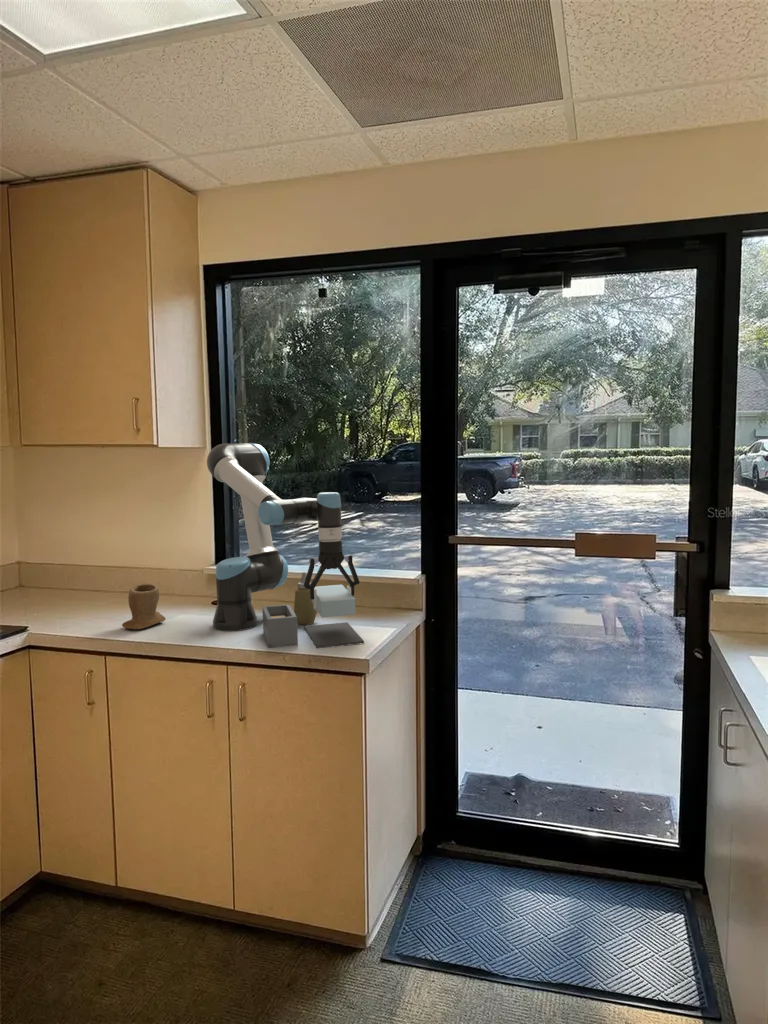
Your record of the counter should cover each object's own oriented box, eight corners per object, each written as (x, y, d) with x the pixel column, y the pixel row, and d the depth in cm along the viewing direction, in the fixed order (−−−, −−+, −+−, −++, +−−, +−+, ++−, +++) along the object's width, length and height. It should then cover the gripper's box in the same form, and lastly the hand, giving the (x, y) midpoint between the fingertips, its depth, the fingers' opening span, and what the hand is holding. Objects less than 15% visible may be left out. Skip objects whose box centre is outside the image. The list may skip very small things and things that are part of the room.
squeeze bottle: (297, 627, 223) (296, 575, 222) (291, 621, 231) (289, 571, 229) (320, 624, 227) (318, 573, 225) (313, 619, 234) (311, 569, 232)
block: (311, 601, 219) (311, 586, 218) (342, 598, 222) (342, 584, 221) (322, 617, 200) (321, 601, 200) (355, 614, 203) (355, 598, 203)
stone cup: (142, 633, 219) (139, 589, 218) (117, 629, 225) (114, 587, 223) (175, 622, 233) (173, 581, 231) (150, 619, 238) (148, 579, 237)
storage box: (263, 632, 217) (262, 606, 216) (290, 630, 219) (289, 604, 219) (268, 648, 200) (267, 619, 199) (297, 645, 202) (296, 616, 201)
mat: (304, 628, 222) (304, 626, 222) (347, 624, 226) (347, 622, 226) (316, 648, 199) (316, 645, 199) (364, 643, 203) (363, 641, 203)
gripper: (296, 543, 203) (298, 613, 204) (367, 539, 209) (369, 606, 211) (293, 541, 210) (295, 608, 212) (362, 536, 216) (364, 602, 218)
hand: (332, 607), depth 211 cm, fingers closed on block, 11 cm apart
